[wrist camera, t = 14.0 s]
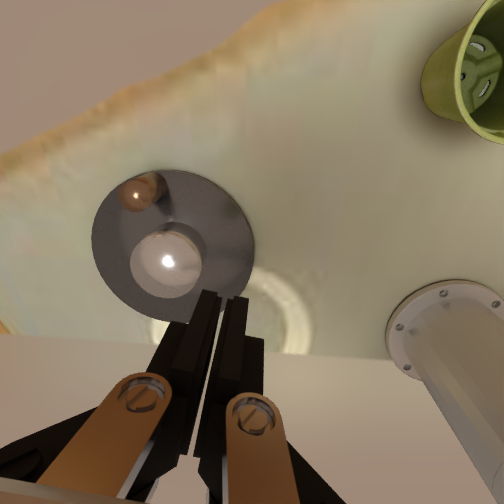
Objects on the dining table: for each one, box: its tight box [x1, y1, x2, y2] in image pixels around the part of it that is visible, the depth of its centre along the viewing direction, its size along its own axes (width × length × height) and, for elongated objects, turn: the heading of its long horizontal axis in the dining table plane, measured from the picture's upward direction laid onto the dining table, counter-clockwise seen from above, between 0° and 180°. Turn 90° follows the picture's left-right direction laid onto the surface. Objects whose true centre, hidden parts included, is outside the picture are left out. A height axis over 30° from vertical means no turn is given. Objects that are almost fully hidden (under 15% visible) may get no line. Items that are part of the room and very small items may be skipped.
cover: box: [130, 222, 207, 298], centre depth 30 cm, size 6×6×4 cm
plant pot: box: [421, 0, 504, 145], centre depth 22 cm, size 9×9×9 cm
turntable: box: [91, 170, 254, 323], centre depth 30 cm, size 16×16×6 cm
